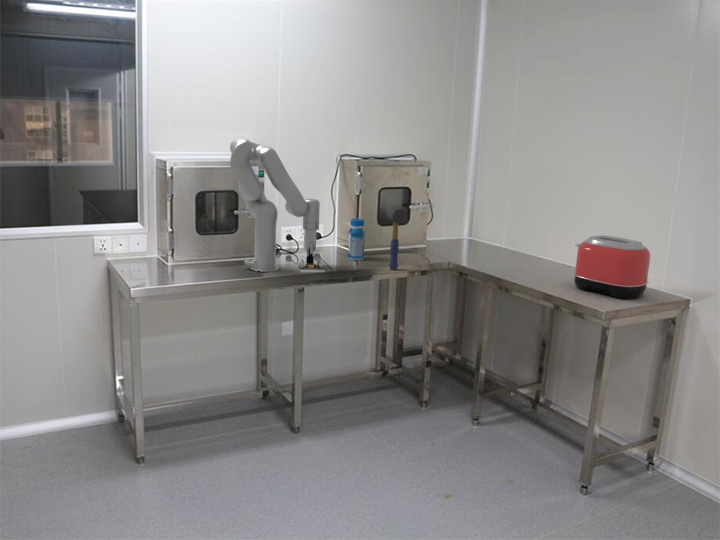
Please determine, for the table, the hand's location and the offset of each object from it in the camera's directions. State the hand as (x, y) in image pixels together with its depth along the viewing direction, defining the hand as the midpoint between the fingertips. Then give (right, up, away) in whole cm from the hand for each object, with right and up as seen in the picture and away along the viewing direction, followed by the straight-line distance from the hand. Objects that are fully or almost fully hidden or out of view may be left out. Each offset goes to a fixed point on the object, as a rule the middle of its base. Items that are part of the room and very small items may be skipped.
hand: (309, 264), depth 307 cm
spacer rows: (+1, -1, -3) cm, 3 cm away
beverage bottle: (+21, +3, +23) cm, 32 cm away
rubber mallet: (+39, -2, +3) cm, 39 cm away
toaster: (+130, -12, -23) cm, 133 cm away
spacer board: (+1, -3, -6) cm, 7 cm away
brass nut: (+1, -1, -3) cm, 4 cm away
